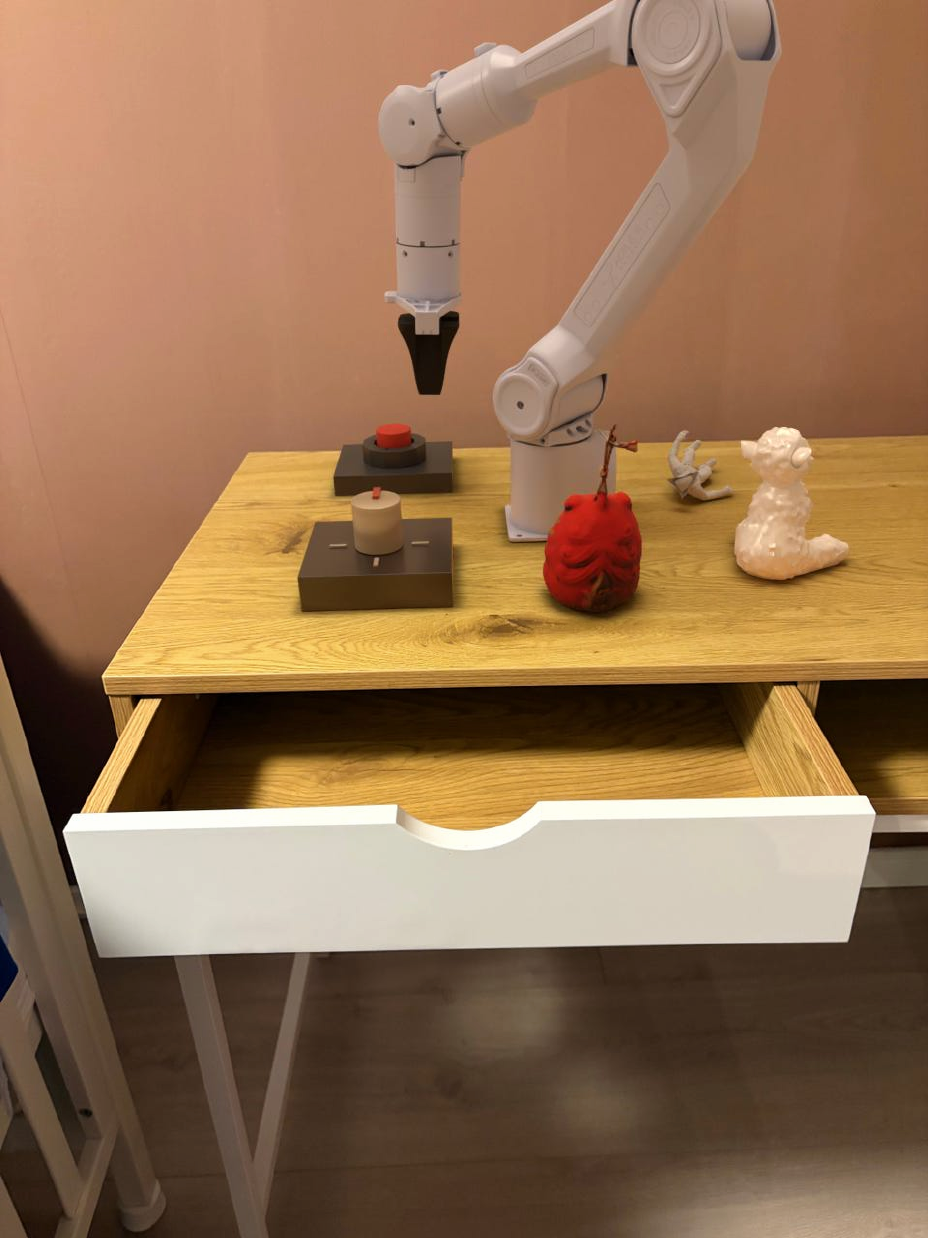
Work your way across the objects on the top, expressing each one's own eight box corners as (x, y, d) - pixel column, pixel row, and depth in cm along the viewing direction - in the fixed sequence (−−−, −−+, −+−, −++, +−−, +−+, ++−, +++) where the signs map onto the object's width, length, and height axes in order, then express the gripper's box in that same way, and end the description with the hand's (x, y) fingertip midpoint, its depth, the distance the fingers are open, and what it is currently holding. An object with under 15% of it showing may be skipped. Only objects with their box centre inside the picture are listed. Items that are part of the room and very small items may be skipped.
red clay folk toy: (624, 575, 78) (635, 396, 71) (652, 615, 72) (667, 424, 65) (535, 584, 77) (536, 404, 70) (555, 625, 71) (559, 432, 64)
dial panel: (453, 548, 84) (451, 515, 82) (453, 606, 74) (451, 570, 73) (318, 552, 84) (315, 519, 82) (301, 611, 74) (296, 575, 73)
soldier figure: (736, 483, 98) (743, 488, 87) (698, 513, 100) (701, 522, 88) (687, 426, 98) (689, 423, 87) (651, 457, 100) (647, 459, 88)
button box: (452, 460, 104) (451, 424, 102) (452, 493, 96) (451, 455, 94) (345, 463, 104) (341, 428, 102) (335, 496, 96) (331, 459, 94)
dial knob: (402, 554, 76) (398, 504, 74) (352, 555, 76) (347, 506, 74) (404, 534, 79) (401, 486, 77) (357, 535, 79) (352, 487, 77)
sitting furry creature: (849, 560, 79) (875, 421, 73) (812, 600, 73) (836, 452, 67) (742, 535, 84) (758, 403, 79) (699, 570, 78) (713, 430, 73)
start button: (412, 438, 100) (411, 422, 99) (410, 449, 97) (409, 433, 96) (378, 439, 100) (377, 423, 99) (375, 450, 97) (374, 434, 96)
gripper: (387, 229, 89) (392, 371, 96) (377, 256, 77) (383, 416, 84) (461, 229, 90) (460, 371, 97) (463, 256, 77) (462, 417, 84)
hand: (429, 392), depth 90 cm, fingers closed
